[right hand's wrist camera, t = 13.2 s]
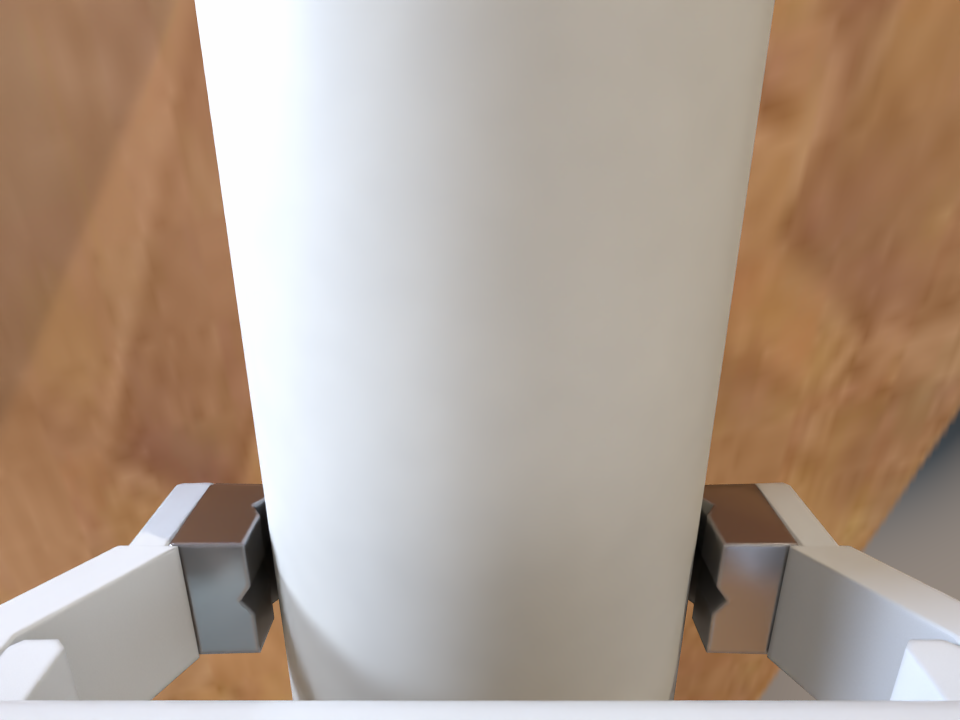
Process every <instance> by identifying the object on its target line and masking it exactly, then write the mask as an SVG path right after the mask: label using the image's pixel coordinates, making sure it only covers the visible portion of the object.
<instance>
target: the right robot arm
mask: <svg viewBox="0 0 960 720" xmlns="http://www.w3.org/2000/svg"><path fill="white" fill-rule="evenodd" d="M278 599H279V596H278V589H277V582H276V575H275V568H274V561H273V554H272V547H271V539H270V532H269V525H268V518H267V511H266V504H265V497H264V490H263V484H229V483H216V484H213V483H183V484H179V485H177V486H176V487H175V488H174V489H173V490H172V491H171V493H170V494H169V495H168V497H167V498H166V499H165V500H164V502H163V503H162V504H161V505H160V507H159V508H158V509H157V510H156V512H155V513H154V514H153V516H152V517H151V518H150V519H149V521H148V522H147V523H146V524H145V526H144V527H143V528H142V529H141V531H140V532H139V533H138V535H137V536H136V537H135V538H134V540H133V541H132V542H131V543H130V545H129V546H117V547H115V548H113V549H111V550H109V551H107V552H105V553H103V554H101V555H99V556H97V557H95V558H93V559H91V560H89V561H87V562H85V563H83V564H81V565H79V566H77V567H75V568H73V569H71V570H69V571H67V572H65V573H63V574H61V575H59V576H57V577H55V578H53V579H51V580H49V581H47V582H45V583H43V584H41V585H39V586H37V587H35V588H33V589H31V590H29V591H27V592H25V593H23V594H21V595H19V596H17V597H15V598H13V599H11V600H9V601H7V602H5V603H3V604H1V605H0V720H960V601H959V600H957V599H955V598H953V597H951V596H949V595H947V594H945V593H943V592H941V591H939V590H937V589H935V588H933V587H931V586H929V585H927V584H925V583H923V582H921V581H919V580H917V579H915V578H913V577H911V576H909V575H907V574H905V573H903V572H901V571H899V570H897V569H895V568H893V567H891V566H889V565H887V564H885V563H883V562H881V561H879V560H877V559H875V558H873V557H871V556H869V555H867V554H865V553H863V552H861V551H859V550H857V549H855V548H853V547H851V546H838V544H837V543H836V542H835V541H834V539H833V538H832V537H831V536H830V534H829V533H828V532H827V531H826V529H825V528H824V527H823V526H822V525H821V523H820V522H819V521H818V520H817V518H816V517H815V516H814V515H813V513H812V512H811V511H810V510H809V508H808V507H807V506H806V505H805V503H804V502H803V501H802V500H801V499H800V497H799V496H798V495H797V494H796V492H795V491H794V490H793V489H792V487H791V486H790V485H787V484H785V483H758V484H725V485H705V486H704V493H703V500H702V507H701V514H700V520H699V527H698V534H697V541H696V548H695V555H694V562H693V569H692V576H691V583H690V590H689V596H688V600H690V601H691V602H692V603H694V609H693V616H692V618H693V621H694V623H695V626H696V628H697V630H698V633H699V635H700V638H701V640H702V642H703V645H704V647H705V650H706V652H707V653H743V654H768V655H767V657H768V658H769V659H770V660H771V661H772V662H774V663H775V664H776V665H777V666H778V667H779V668H780V669H782V670H783V671H784V672H785V673H786V674H787V675H789V676H790V677H791V678H792V679H793V680H794V681H795V682H797V683H798V684H799V685H800V686H801V687H802V688H803V689H805V690H806V691H807V692H808V693H809V694H810V695H811V696H813V697H814V698H815V699H816V700H814V701H813V700H812V701H808V700H804V701H802V700H800V701H798V700H797V701H793V700H790V701H789V700H787V701H241V700H240V701H239V700H152V699H153V698H154V697H155V696H156V695H157V694H158V693H160V692H161V691H162V690H163V689H164V688H165V687H166V686H168V685H169V684H170V683H171V682H172V681H173V680H174V679H175V678H177V677H178V676H179V675H180V674H181V673H182V672H183V671H185V670H186V669H187V668H188V667H189V666H190V665H191V664H193V663H194V662H195V661H196V660H197V659H198V658H199V654H223V653H258V652H261V649H262V647H263V644H264V642H265V639H266V637H267V634H268V632H269V629H270V627H271V624H272V622H273V620H274V613H273V605H272V604H273V603H274V602H275V601H277V600H278Z"/></svg>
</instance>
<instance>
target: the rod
mask: <svg viewBox="0 0 960 720" xmlns="http://www.w3.org/2000/svg"><path fill="white" fill-rule="evenodd" d="M774 2H775V0H195V5H196V12H197V20H198V27H199V34H200V41H201V48H202V55H203V62H204V69H205V77H206V84H207V91H208V98H209V105H210V112H211V119H212V126H213V134H214V141H215V148H216V155H217V162H218V169H219V176H220V183H221V191H222V198H223V205H224V212H225V219H226V226H227V233H228V240H229V247H230V255H231V262H232V269H233V276H234V283H235V290H236V297H237V304H238V312H239V319H240V326H241V333H242V340H243V347H244V354H245V361H246V369H247V376H248V383H249V390H250V397H251V404H252V411H253V418H254V426H255V433H256V440H257V447H258V454H259V461H260V468H261V475H262V483H263V490H264V497H265V504H266V511H267V518H268V525H269V532H270V539H271V547H272V554H273V561H274V568H275V575H276V582H277V589H278V596H279V604H280V611H281V618H282V625H283V632H284V639H285V646H286V653H287V661H288V668H289V675H290V682H291V689H292V696H293V701H673V700H674V693H675V686H676V679H677V672H678V666H679V659H680V652H681V645H682V638H683V631H684V624H685V617H686V610H687V603H688V596H689V590H690V583H691V576H692V569H693V562H694V555H695V548H696V541H697V534H698V527H699V520H700V514H701V507H702V500H703V493H704V486H705V479H706V472H707V465H708V458H709V451H710V444H711V438H712V431H713V424H714V417H715V410H716V403H717V396H718V389H719V382H720V375H721V368H722V362H723V355H724V348H725V341H726V334H727V327H728V320H729V313H730V306H731V299H732V292H733V286H734V279H735V272H736V265H737V258H738V251H739V244H740V237H741V230H742V223H743V216H744V210H745V203H746V196H747V189H748V182H749V175H750V168H751V161H752V154H753V147H754V140H755V134H756V127H757V120H758V113H759V106H760V99H761V92H762V85H763V78H764V71H765V64H766V58H767V51H768V44H769V37H770V30H771V23H772V16H773V9H774Z"/></svg>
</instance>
